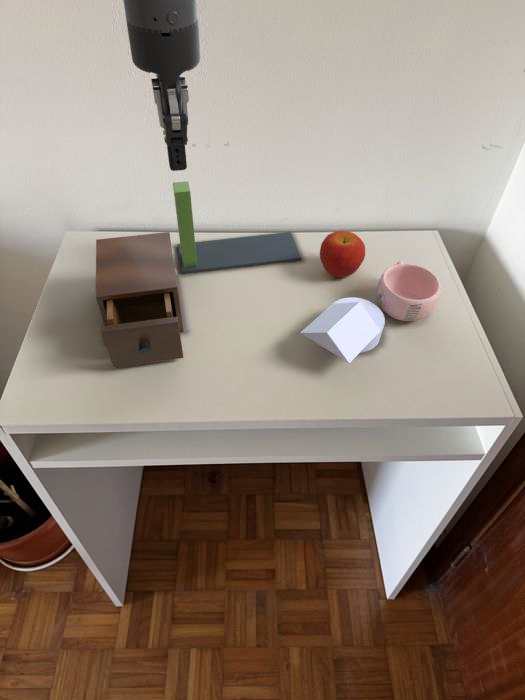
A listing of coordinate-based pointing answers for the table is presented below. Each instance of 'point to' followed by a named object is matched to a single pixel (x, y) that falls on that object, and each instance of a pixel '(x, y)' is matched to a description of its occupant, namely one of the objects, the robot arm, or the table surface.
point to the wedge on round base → (347, 327)
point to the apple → (342, 253)
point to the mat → (243, 252)
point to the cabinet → (135, 270)
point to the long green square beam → (185, 223)
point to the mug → (408, 291)
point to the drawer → (141, 330)
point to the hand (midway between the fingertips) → (178, 167)
